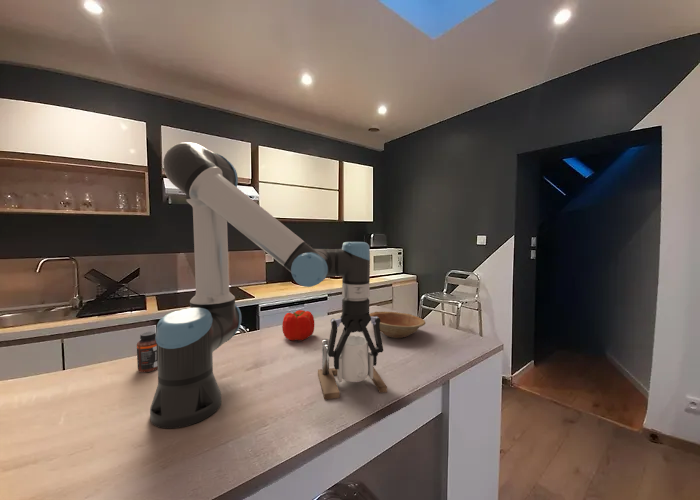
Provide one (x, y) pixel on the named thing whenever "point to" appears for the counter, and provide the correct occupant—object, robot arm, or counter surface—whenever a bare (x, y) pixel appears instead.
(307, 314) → the red lobed round piece
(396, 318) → the bowl
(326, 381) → the brown wooden u-shaped piece
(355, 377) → the mug
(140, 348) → the supplement bottle
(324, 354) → the hook post
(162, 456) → the counter surface
